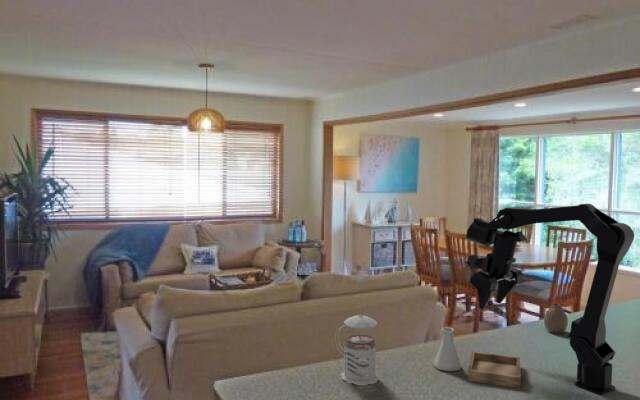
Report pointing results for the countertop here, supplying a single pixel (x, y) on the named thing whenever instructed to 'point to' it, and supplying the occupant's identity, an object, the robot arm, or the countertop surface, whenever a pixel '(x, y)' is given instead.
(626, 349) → the countertop surface
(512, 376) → the wooden tray
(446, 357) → the flask
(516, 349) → the countertop surface
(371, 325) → the french press
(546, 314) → the vase
